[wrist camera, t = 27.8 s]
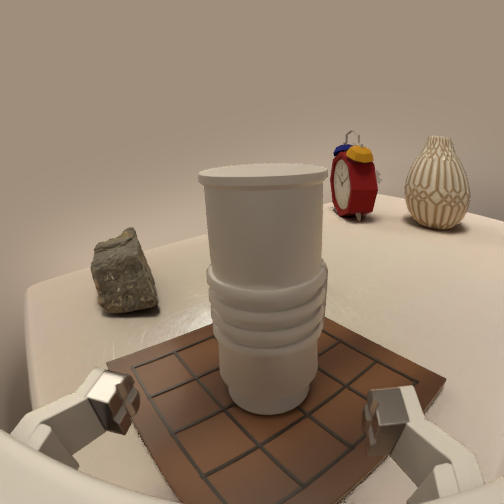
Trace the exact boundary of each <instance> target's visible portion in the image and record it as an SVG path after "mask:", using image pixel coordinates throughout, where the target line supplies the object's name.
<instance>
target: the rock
mask: <svg viewBox="0 0 504 504" xmlns="http://www.w3.org/2000/svg"><path fill="white" fill-rule="evenodd" d="M91 272H92V276H93V280H94V283H95V285H96V289H97V292H98V303H99V304H100V306H102V307H103V308H104V309H105V310H106V311H107V312H110V313H125V312H129V311H130V312H131V311H135V310H138V309H146V308H151V307H154V306H155V305H157V304H158V303H159V302H158V300H157V297H156V296H157V294H156V290H155V287H154V285H155V282H154V278H153V276H152V274H151V270H150V268H149V266H148V264H147V260H146V258H145V256H144V253H143V251H142V249H141V245H140V243H139V241H138V239H137V235H136V231H135V230H134V228H127V229H126V230H124V231H123V233H122V234H121V235H120V236H118V237H117V238H113V239H109V240H108V241H106V242H100V243H98V244H97V245H96V247H95V249H94V258H93V262H92V263H91Z"/></svg>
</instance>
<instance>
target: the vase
mask: <svg viewBox="0 0 504 504" xmlns="http://www.w3.org/2000/svg"><path fill="white" fill-rule="evenodd" d="M405 200H406V204H407V207H408V210H409V212H410V214H411V215H412V217H413V218H414V219H415V220H416V221H417V222H418V223H419V224H420V225H422V226H425V227H428V228H432V229H439V230H447V229H451V228H453V227H454V226H456V225H457V224H458V223H459V222H460V221H461V220H462V219H463V218H464V216H465V214H466V212H467V209H468V207H469V202H470V187H469V182H468V178H467V174H466V172H465V170H464V168H463V165H462V163H461V162H460V160H459V158H458V156H457V155H456V153H455V150H454V147H453V144H452V140H451V138H447V137H440V136H428V139H427V142H426V145H425V147H424V149H423V151H422V152H421V153H420V154H419V156H418V157H417V158H416V160H415V162H414V163H413V165H412V167H411V169H410V170H409V173H408V176H407V179H406V183H405Z"/></svg>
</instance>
